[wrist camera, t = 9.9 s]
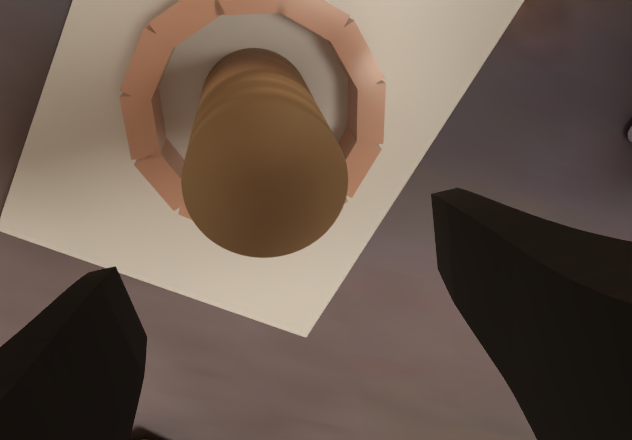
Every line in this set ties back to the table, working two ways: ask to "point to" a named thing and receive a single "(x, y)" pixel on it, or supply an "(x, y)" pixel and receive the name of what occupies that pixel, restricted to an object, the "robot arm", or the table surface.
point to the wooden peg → (261, 159)
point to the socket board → (179, 115)
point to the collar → (209, 3)
